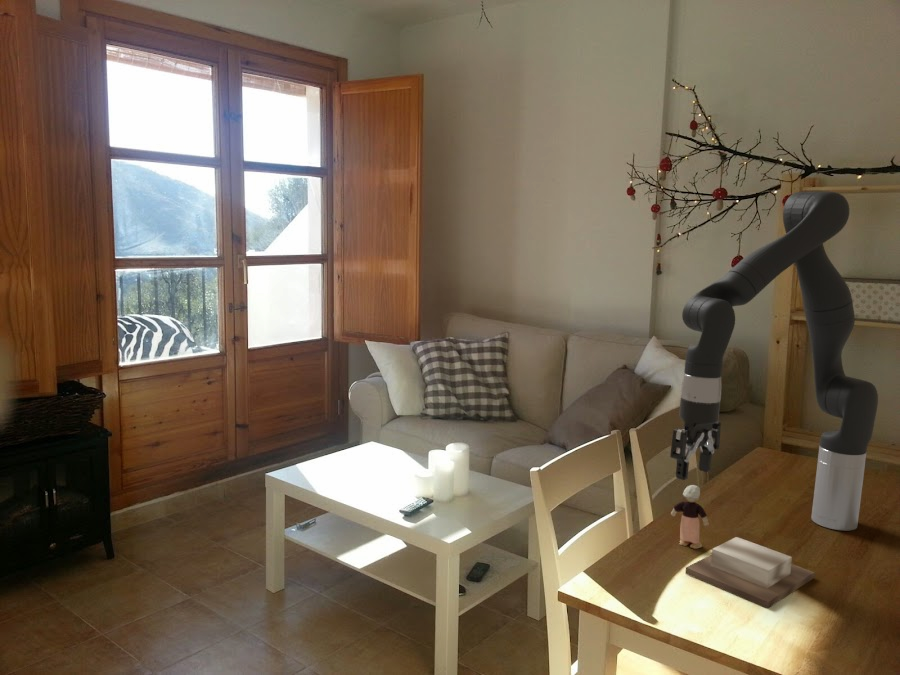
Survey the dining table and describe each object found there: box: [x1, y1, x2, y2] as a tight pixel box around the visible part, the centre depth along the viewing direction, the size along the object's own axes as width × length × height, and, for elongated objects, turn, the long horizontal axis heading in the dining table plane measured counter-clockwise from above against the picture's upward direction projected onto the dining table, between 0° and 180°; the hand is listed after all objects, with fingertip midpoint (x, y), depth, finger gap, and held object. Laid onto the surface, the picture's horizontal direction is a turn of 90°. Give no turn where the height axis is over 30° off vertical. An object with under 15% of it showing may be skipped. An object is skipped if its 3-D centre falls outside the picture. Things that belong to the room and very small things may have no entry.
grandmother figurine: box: [670, 484, 710, 550], centre depth 151 cm, size 8×4×13 cm, turn 65°
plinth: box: [684, 536, 815, 609], centre depth 139 cm, size 18×16×5 cm
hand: (693, 474), depth 150 cm, fingers open, 8 cm apart
